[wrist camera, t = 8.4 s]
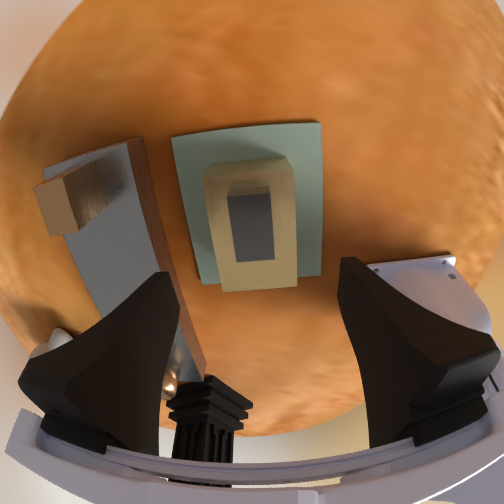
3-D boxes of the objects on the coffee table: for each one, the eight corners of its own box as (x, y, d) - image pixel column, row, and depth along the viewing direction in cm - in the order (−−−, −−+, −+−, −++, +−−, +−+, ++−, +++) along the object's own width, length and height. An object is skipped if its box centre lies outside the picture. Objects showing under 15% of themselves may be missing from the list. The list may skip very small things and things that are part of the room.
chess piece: (165, 389, 30) (139, 533, 13) (213, 375, 28) (197, 548, 11) (205, 414, 34) (193, 540, 17) (252, 403, 31) (251, 547, 14)
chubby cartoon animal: (46, 321, 29) (15, 366, 23) (60, 319, 22) (17, 382, 16) (82, 354, 32) (54, 398, 26) (109, 363, 25) (73, 424, 19)
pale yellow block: (211, 163, 16) (197, 185, 12) (285, 156, 16) (296, 176, 12) (227, 260, 20) (221, 302, 16) (290, 255, 19) (299, 297, 16)
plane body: (62, 159, 16) (9, 188, 11) (142, 136, 15) (94, 156, 10) (145, 360, 27) (132, 405, 22) (206, 362, 27) (199, 412, 22)
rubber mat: (319, 122, 15) (321, 123, 15) (319, 272, 21) (320, 275, 20) (172, 137, 15) (170, 138, 15) (202, 281, 21) (202, 284, 21)
